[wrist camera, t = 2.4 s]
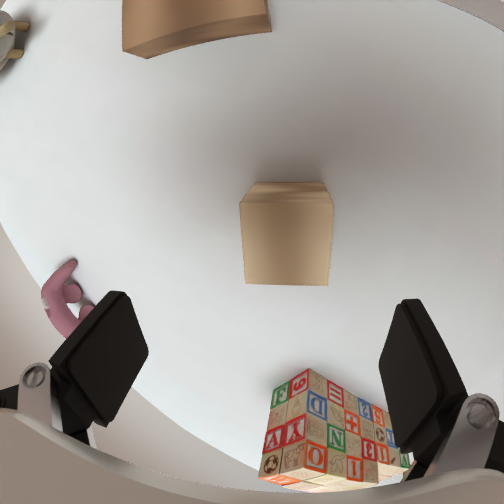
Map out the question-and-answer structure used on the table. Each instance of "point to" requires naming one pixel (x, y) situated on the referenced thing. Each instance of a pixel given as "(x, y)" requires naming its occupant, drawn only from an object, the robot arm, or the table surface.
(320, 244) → the oak block
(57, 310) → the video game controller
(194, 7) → the base block
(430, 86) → the table surface
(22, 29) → the toy sheep
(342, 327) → the table surface
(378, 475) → the stack of blocks
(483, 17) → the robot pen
